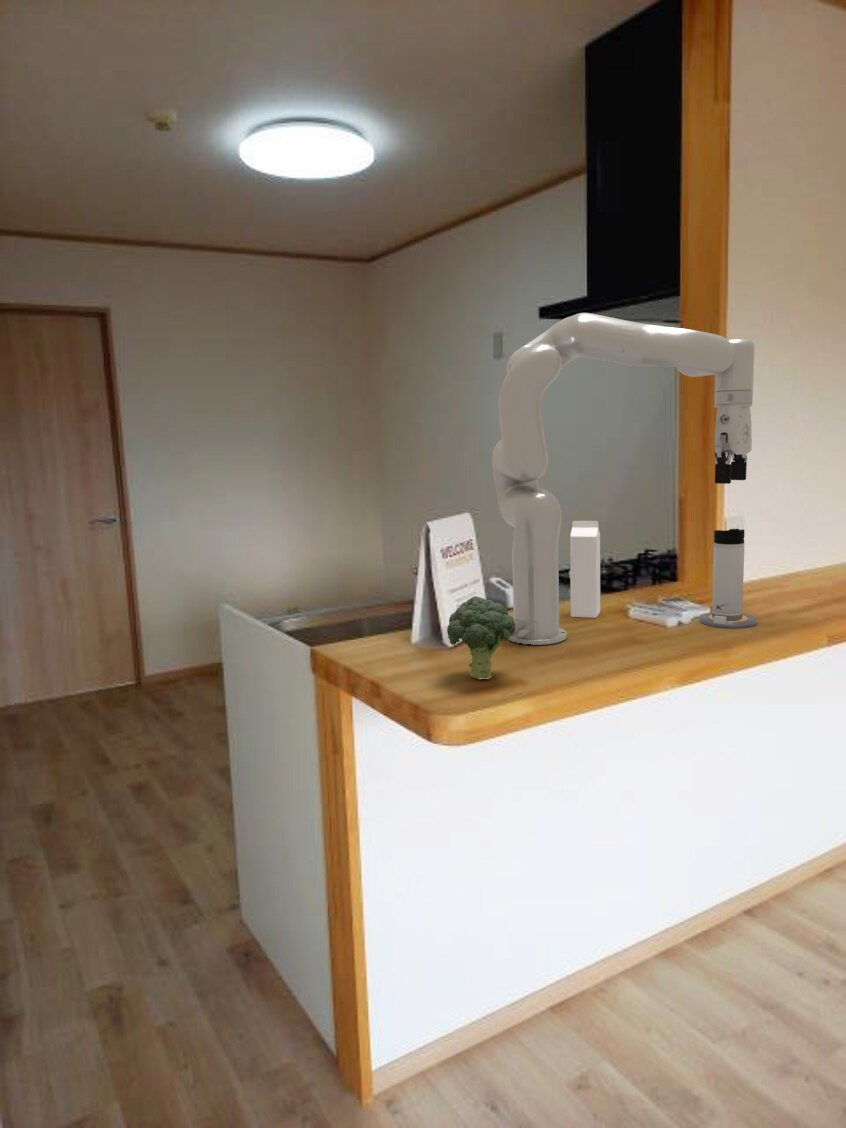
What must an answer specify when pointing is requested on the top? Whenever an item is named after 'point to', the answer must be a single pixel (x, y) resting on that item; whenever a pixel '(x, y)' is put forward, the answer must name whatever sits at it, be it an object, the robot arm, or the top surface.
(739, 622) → the base
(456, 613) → the vegetable
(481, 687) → the top surface
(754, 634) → the top surface
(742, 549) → the travel mug
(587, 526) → the milk
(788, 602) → the top surface
